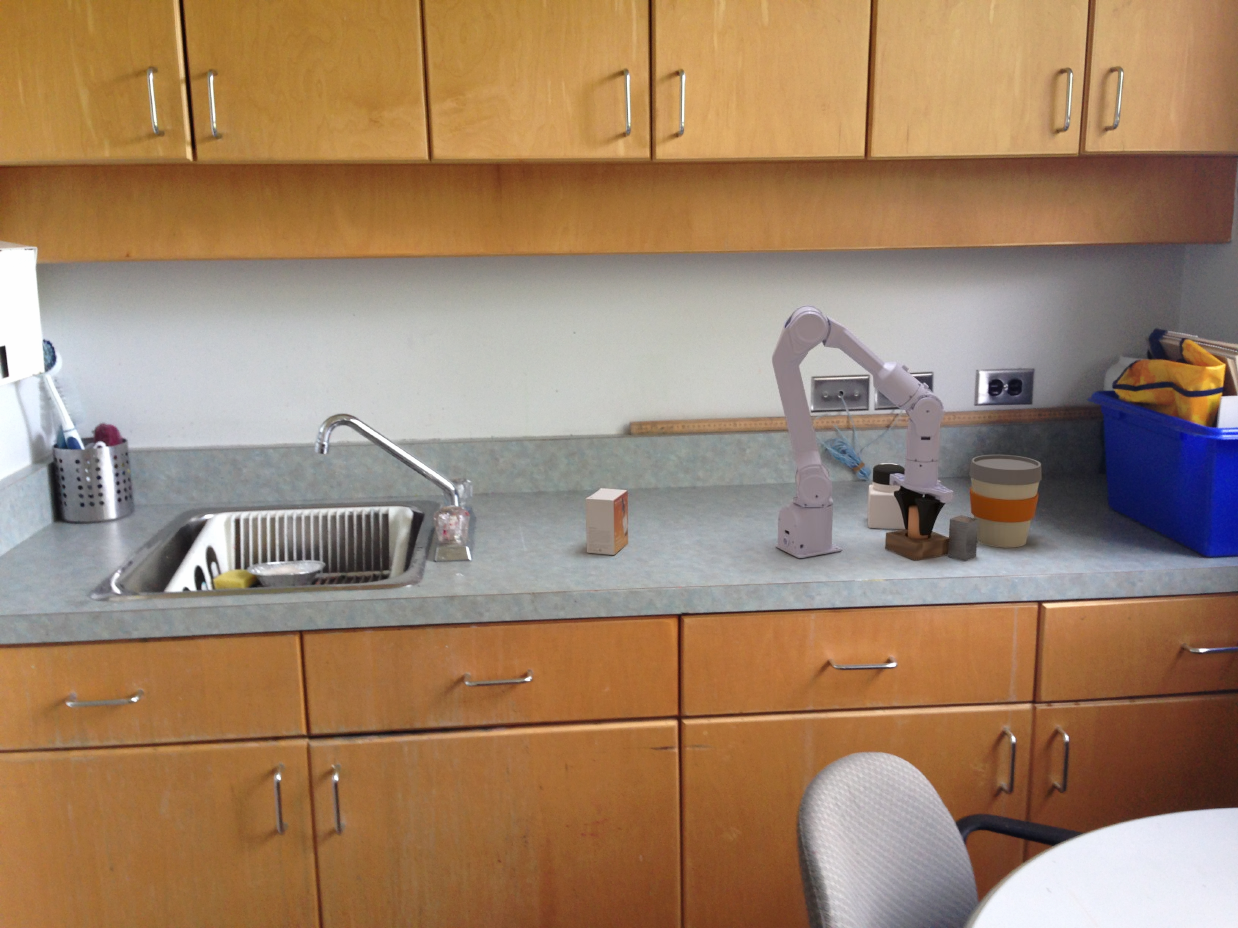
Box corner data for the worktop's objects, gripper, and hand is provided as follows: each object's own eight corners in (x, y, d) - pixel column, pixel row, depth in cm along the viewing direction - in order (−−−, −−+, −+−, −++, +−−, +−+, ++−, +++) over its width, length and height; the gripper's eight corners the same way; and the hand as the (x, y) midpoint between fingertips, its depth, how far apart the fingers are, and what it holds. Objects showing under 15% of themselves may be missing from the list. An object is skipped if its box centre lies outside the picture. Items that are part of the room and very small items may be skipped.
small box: (614, 556, 188) (613, 500, 186) (586, 553, 190) (584, 498, 188) (629, 543, 195) (628, 489, 193) (601, 540, 197) (600, 487, 195)
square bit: (965, 561, 182) (967, 523, 181) (947, 556, 185) (949, 518, 183) (976, 556, 184) (978, 519, 183) (958, 552, 187) (961, 515, 185)
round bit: (916, 549, 185) (918, 511, 184) (903, 543, 188) (905, 506, 187) (931, 546, 187) (933, 508, 185) (917, 540, 190) (919, 504, 188)
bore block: (914, 560, 183) (915, 544, 182) (885, 548, 190) (885, 532, 189) (949, 554, 186) (950, 538, 185) (919, 541, 193) (920, 526, 192)
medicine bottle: (906, 530, 200) (909, 470, 198) (868, 528, 202) (870, 468, 199) (903, 519, 207) (906, 461, 204) (867, 518, 209) (869, 460, 206)
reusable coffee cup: (997, 554, 186) (1002, 473, 182) (950, 535, 197) (955, 458, 193) (1051, 545, 190) (1058, 465, 186) (1003, 526, 201) (1008, 451, 198)
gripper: (968, 464, 179) (963, 539, 182) (912, 448, 192) (908, 518, 195) (936, 469, 176) (932, 545, 179) (881, 452, 189) (878, 523, 192)
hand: (918, 531), depth 187 cm, fingers closed on round bit, 3 cm apart
